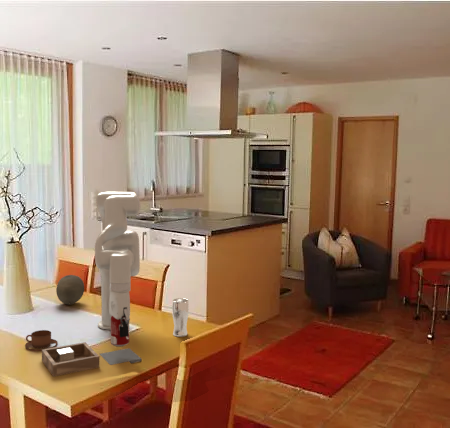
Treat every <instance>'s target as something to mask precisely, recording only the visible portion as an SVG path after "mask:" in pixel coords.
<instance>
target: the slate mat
mask: <svg viewBox="0 0 450 428" xmlns="http://www.w3.org/2000/svg"><path fill="white" fill-rule="evenodd" d="M99 356H100V357H102V358H103V360H104V361H105V362H106V363H108V365H110V366H114V365H117V364H122V363H126V362H129V363H130V364H135V363H139V362H140V363H141V362H142V357H140V356H139V355H138V354H137V353H135V352H134V351H133V350H132V349H131V348H129V347H128V348H122V349H118V350H112V351H108V352H102V353H99Z"/></svg>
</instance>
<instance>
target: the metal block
mask: <svg viewBox="0 0 450 428" xmlns="http://www.w3.org/2000/svg"><path fill="white" fill-rule="evenodd" d="M70 360H74V351H73V350H72V349H71V348H70V347H69V348H63V349H57V350H56V361H57V362H58V363H59V362H65V361H70Z"/></svg>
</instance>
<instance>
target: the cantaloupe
mask: <svg viewBox="0 0 450 428" xmlns="http://www.w3.org/2000/svg"><path fill="white" fill-rule="evenodd" d="M55 292H56V295H57V299H58V300H59V301H60V302H61V303H62V304H64V305H67V306H68V305H69V306H70V305H71V306H72V305H73V304H76V303H77V302H79V301H80V300H81V299H82V297H83V296H84V293H85V284H84V281H83V279H82V278H81V277H80V276H78V275H75V274H69V275H64V276H62V277H61V278H60V279H59V280H58V282H57V285H56V291H55Z"/></svg>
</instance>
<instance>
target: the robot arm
mask: <svg viewBox="0 0 450 428" xmlns="http://www.w3.org/2000/svg"><path fill="white" fill-rule="evenodd" d="M95 202H96V208H97V210H98V213H99V215H100V219H101V224H102V225H101V226H102V227H101V228H102V230H101V232H100V233H99V235H98V236H97V237H96V240H95V243H94V261H95V265H96V267H97V269H99V273H100V282H101V283H100V284H101V287H100V288H101V320H100V321H98V323H97V327H98V328H100V329H102V330H110V331H111V317H112V316H113V317H114V318H116V319H117V320H119V319H120V325H121V326H120V337H126V336H128V326H129V327H130V320H131V318H130V317H131V301H130V300H131V298H130V292H131V290H132V289H131V288H132V287H131V277H135V276H138V275H139V273H140V269H141V267H140V264H141V262H140V259H141V258H140V238H139V234H138V233H137V232H136V231H135V230H128V220H127V217H129V216H131V217H132V216H138V215H140V212H141V200H140V198H139V196H138V195H137V193H136V192H134V191H104V192H99V193H98V194H96V197H95ZM122 316H125V317H124V318H122ZM124 319H125V321H123V322H122V320H124Z"/></svg>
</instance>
